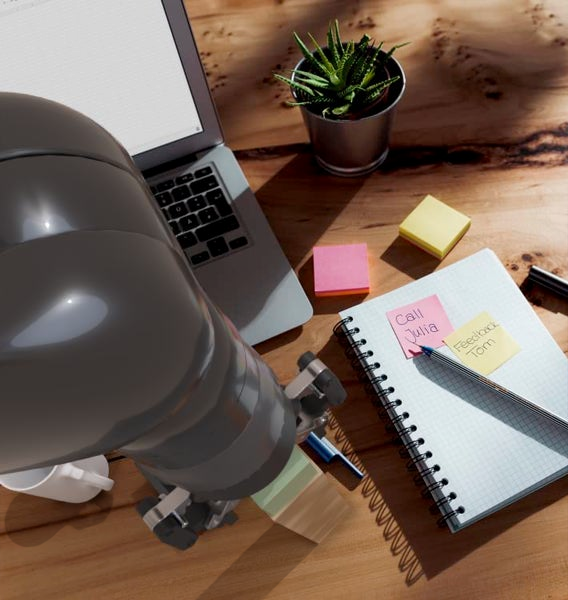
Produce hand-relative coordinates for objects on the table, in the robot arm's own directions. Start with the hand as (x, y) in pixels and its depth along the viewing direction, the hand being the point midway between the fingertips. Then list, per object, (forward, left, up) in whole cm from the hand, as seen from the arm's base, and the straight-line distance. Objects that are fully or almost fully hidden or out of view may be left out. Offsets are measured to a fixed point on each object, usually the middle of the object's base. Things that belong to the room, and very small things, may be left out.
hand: (271, 468), depth 49 cm
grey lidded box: (-6, +12, -28) cm, 31 cm away
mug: (-16, +21, -28) cm, 38 cm away
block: (0, 0, -2) cm, 2 cm away
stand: (0, 0, -28) cm, 28 cm away
